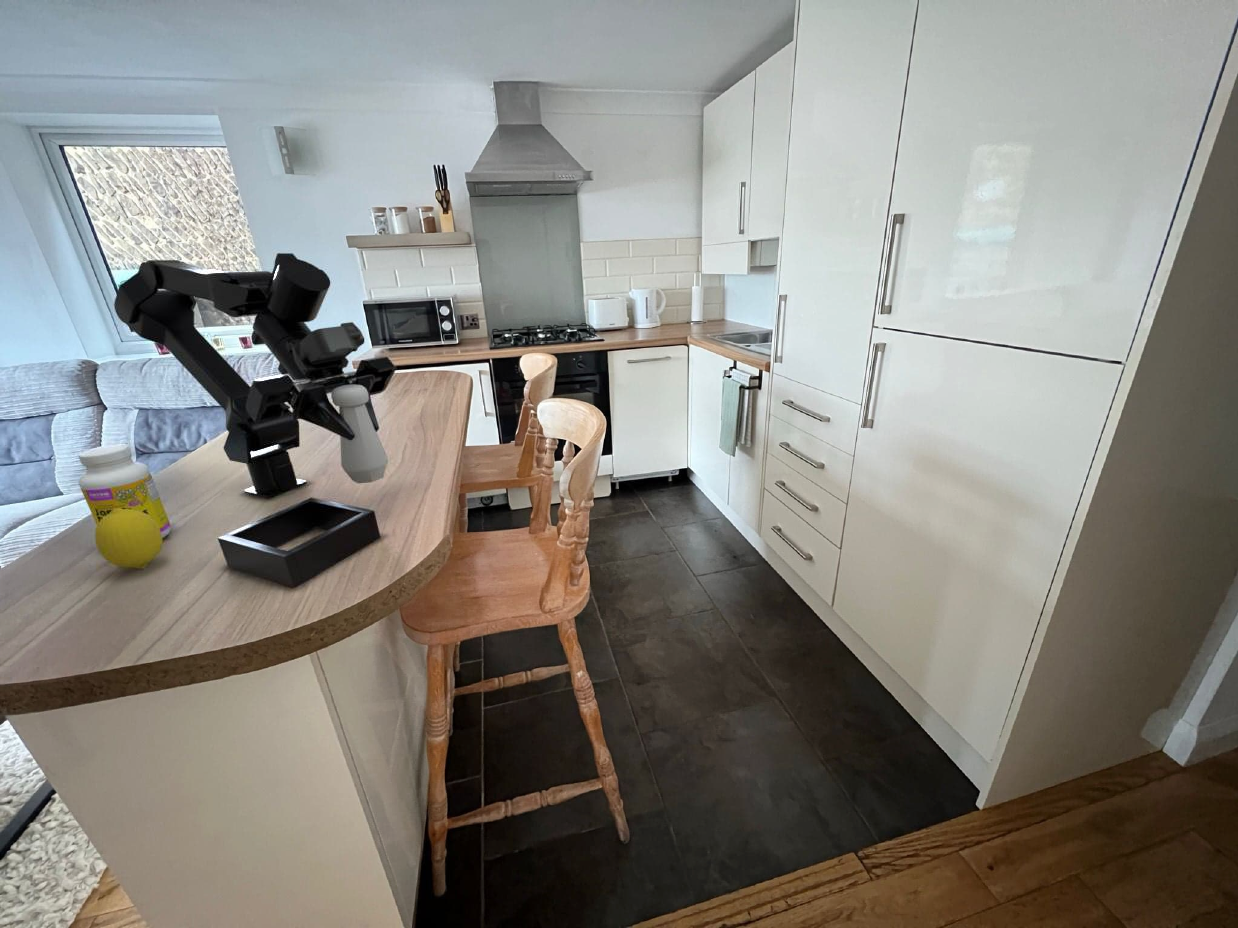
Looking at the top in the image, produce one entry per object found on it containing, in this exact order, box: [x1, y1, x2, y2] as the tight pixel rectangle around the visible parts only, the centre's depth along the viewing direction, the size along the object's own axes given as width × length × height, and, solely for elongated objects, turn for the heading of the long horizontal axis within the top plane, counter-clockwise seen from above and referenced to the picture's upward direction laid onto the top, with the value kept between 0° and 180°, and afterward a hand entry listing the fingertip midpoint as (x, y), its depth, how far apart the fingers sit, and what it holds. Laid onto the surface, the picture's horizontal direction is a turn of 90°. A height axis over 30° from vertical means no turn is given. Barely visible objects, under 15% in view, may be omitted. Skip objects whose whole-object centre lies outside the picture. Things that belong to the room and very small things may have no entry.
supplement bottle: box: [78, 443, 172, 539], centre depth 66 cm, size 7×7×13 cm
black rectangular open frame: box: [217, 496, 381, 589], centre depth 63 cm, size 12×12×4 cm
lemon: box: [94, 508, 163, 570], centre depth 60 cm, size 6×6×8 cm
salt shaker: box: [330, 384, 389, 484], centre depth 68 cm, size 6×6×13 cm
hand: (365, 434), depth 68 cm, fingers closed on salt shaker, 3 cm apart
